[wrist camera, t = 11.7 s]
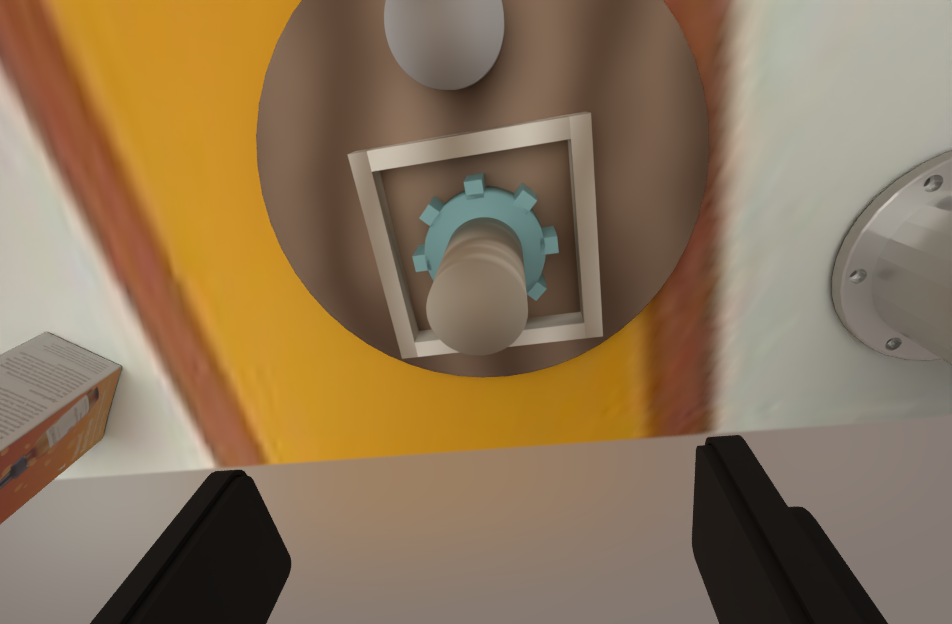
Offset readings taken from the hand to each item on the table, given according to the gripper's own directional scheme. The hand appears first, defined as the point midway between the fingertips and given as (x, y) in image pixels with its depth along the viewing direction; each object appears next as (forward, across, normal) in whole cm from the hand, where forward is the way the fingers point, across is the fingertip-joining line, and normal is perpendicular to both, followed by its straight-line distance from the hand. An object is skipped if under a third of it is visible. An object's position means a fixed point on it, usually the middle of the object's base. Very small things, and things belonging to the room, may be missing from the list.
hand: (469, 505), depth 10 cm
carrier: (+20, +1, -3) cm, 20 cm away
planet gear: (+18, +1, 0) cm, 18 cm away
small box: (+20, +33, +7) cm, 39 cm away
